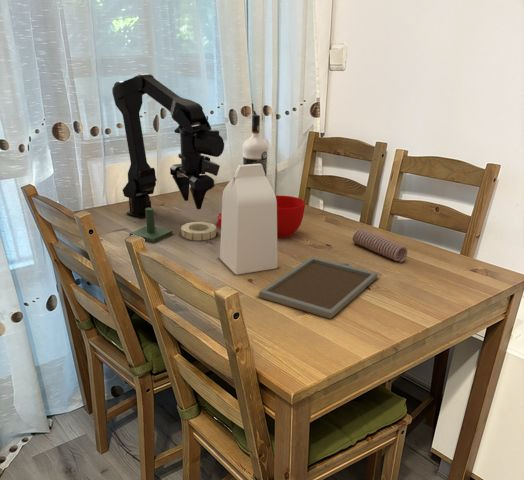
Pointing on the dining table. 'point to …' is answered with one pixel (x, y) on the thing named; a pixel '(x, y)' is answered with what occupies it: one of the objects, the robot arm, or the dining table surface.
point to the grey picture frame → (319, 286)
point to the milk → (249, 222)
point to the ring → (198, 231)
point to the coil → (380, 245)
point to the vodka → (255, 146)
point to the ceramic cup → (289, 215)
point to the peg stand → (152, 229)
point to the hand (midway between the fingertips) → (192, 204)
